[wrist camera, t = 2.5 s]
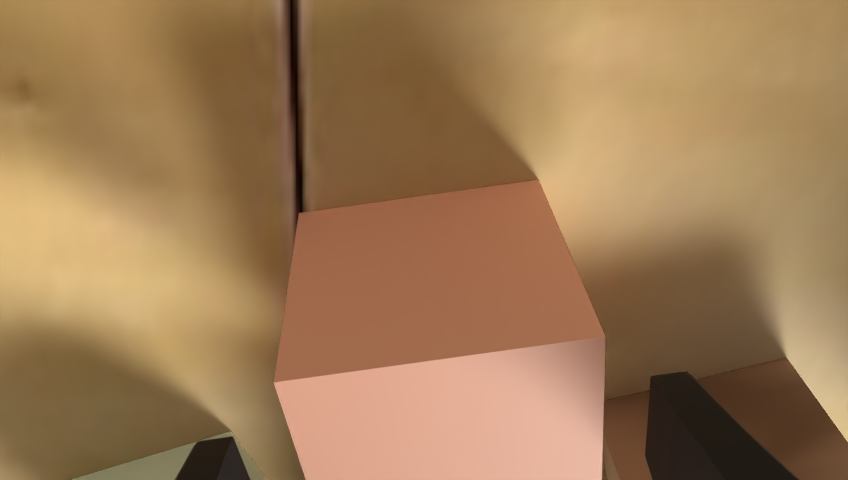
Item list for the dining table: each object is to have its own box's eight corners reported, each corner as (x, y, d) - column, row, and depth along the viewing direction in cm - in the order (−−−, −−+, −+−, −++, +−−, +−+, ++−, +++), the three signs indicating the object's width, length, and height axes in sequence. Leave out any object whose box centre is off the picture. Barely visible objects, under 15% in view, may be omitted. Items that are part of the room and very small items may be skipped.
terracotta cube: (537, 177, 15) (606, 336, 11) (544, 355, 18) (600, 536, 13) (299, 211, 15) (273, 382, 11) (343, 383, 18) (336, 572, 13)
